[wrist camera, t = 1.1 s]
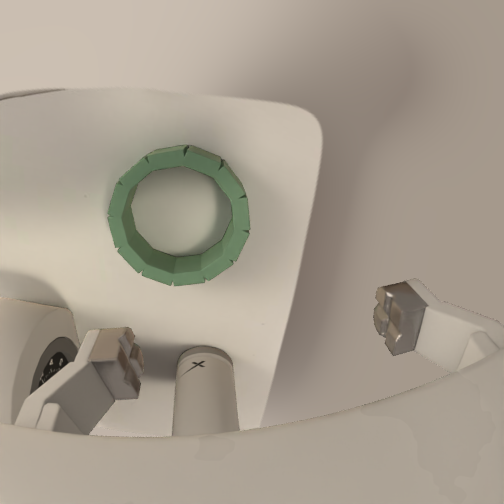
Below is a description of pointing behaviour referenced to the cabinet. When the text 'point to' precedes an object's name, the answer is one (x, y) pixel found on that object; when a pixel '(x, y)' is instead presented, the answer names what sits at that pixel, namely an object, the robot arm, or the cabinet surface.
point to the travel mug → (204, 393)
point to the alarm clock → (31, 350)
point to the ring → (161, 263)
